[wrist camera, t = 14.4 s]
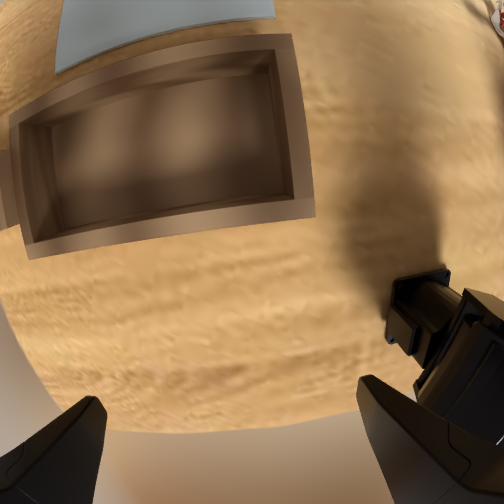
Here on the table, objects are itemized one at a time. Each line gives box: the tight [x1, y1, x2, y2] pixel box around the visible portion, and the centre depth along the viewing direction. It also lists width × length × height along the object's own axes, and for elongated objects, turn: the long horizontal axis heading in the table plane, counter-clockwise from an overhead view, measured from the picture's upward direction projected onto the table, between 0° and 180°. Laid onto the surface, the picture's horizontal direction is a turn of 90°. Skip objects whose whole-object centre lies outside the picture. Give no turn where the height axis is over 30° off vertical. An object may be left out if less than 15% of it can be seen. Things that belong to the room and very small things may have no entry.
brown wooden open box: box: [0, 34, 316, 260], centre depth 12 cm, size 24×10×10 cm, turn 97°
